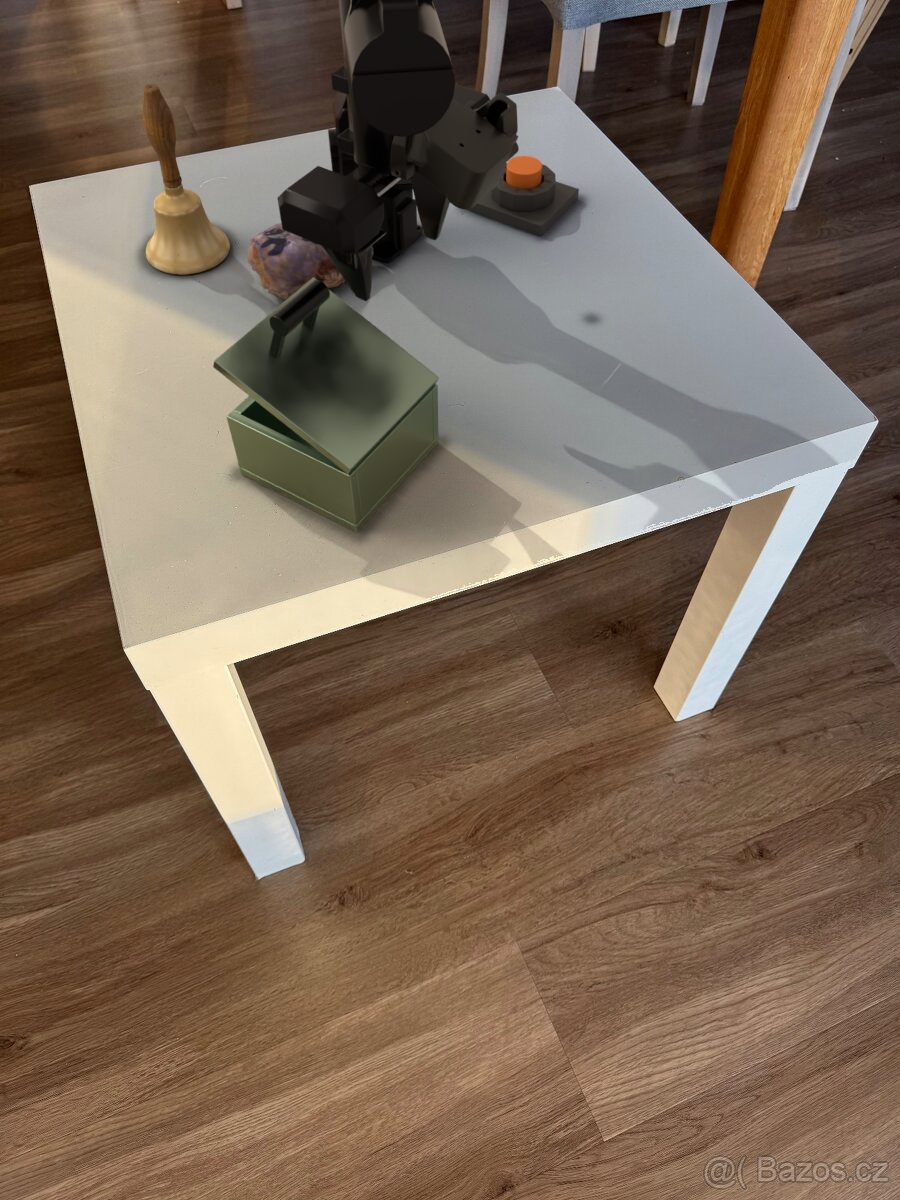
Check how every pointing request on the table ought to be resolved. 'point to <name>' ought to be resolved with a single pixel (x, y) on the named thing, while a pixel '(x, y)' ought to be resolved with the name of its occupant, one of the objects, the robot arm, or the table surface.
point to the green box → (317, 480)
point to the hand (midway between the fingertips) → (398, 267)
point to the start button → (524, 172)
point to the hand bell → (177, 203)
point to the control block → (527, 203)
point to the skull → (290, 262)
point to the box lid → (327, 374)
